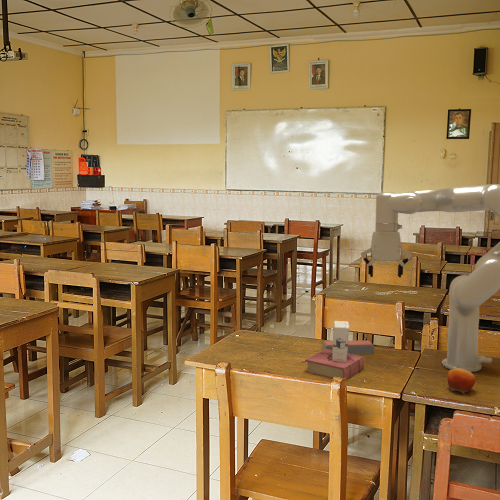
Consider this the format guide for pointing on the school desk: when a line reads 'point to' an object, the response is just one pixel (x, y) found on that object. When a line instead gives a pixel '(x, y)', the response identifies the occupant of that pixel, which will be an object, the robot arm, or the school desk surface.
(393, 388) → the school desk surface
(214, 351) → the school desk surface
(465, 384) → the fruit
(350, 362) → the book
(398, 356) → the school desk surface
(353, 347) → the pencil case
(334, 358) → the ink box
